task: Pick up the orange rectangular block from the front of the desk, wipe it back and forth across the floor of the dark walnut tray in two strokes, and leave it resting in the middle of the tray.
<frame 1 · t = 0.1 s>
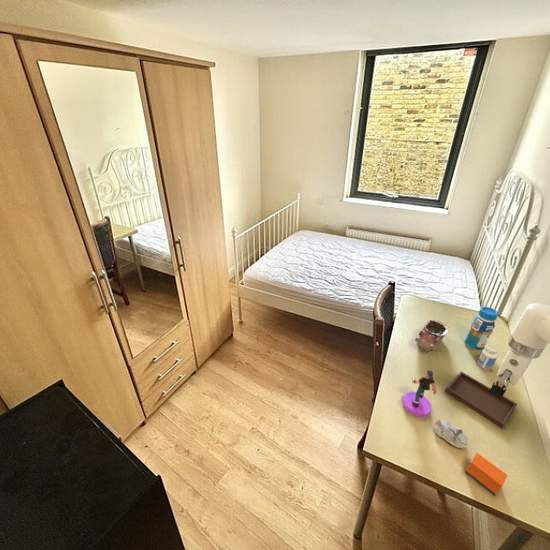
hand: (500, 386, 89), 22 cm above the table, tool pointing down, fingers open, 9 cm apart
tray: (479, 399, 111), on the table
stone: (449, 436, 98), on the table
figurine: (416, 406, 108), on the table
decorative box: (430, 346, 136), on the table
blue lidded jar: (473, 345, 138), on the table
pill bottle: (483, 365, 127), on the table
orange rectangular block: (482, 478, 87), on the table
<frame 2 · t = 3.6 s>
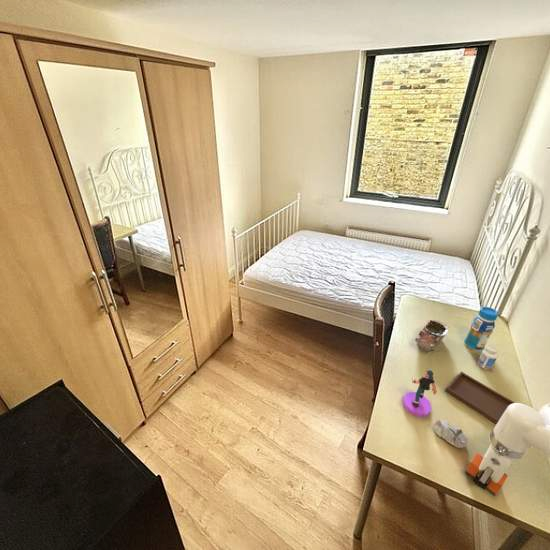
hand: (482, 478, 87), 0 cm above the table, tool pointing down, fingers closed on orange rectangular block, 4 cm apart
orange rectangular block: (482, 478, 87), on the table, touching gripper
everything else where it was.
when the fingers open (1 cm above the table, at t = 14.5 s): orange rectangular block stays where it is, resting on tray.
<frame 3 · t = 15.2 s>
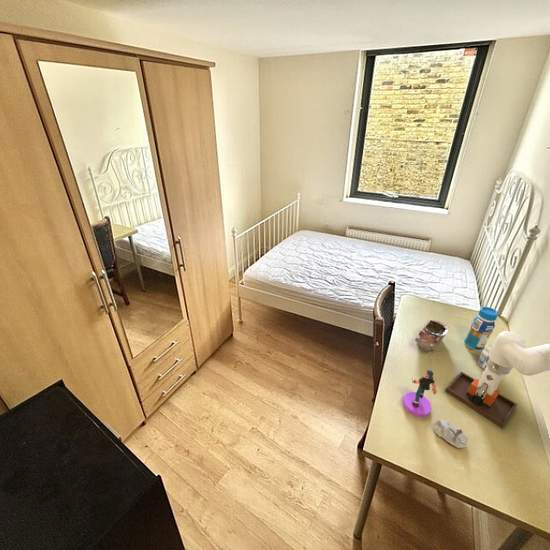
hand: (480, 396, 110), 2 cm above the table, tool pointing down, fingers open, 9 cm apart
orange rectangular block: (479, 397, 111), point 1 cm above the table, touching tray
everything else where it was.
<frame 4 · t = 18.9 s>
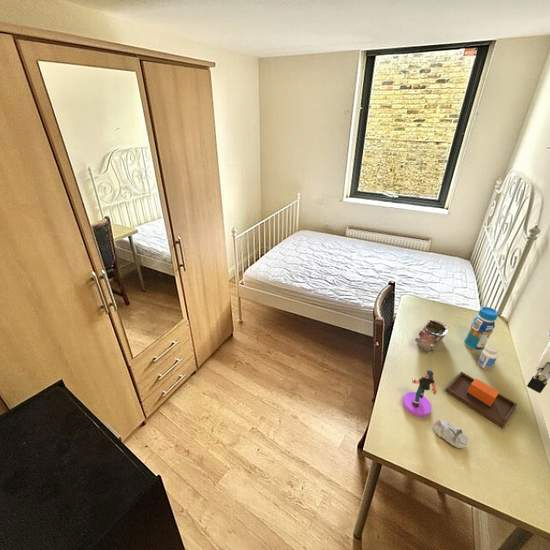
hand: (538, 381, 86), 26 cm above the table, tool pointing down, fingers open, 9 cm apart
nothing on the table moved.
at the end: orange rectangular block inside the target area in the tray (0.0 cm from its centre), point 0.8 cm above the tray's base; orange rectangular block tilted 0°; the gripper is holding nothing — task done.
